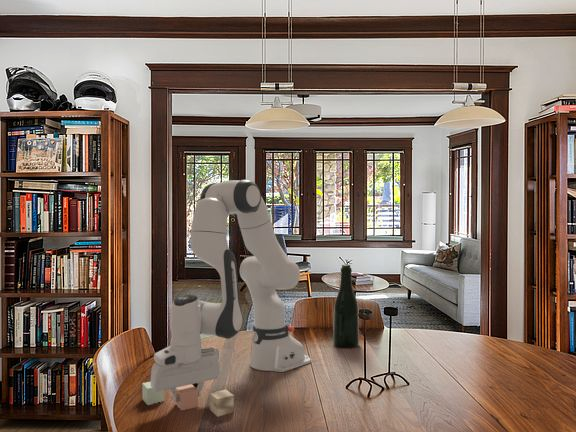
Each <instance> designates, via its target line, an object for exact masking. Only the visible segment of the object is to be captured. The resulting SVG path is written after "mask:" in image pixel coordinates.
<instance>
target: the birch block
mask: <svg viewBox="0 0 576 432" xmlns="http://www.w3.org/2000/svg"><path fill="white" fill-rule="evenodd" d="M234 399H235V398H234V394H232V393H231V392H230V391H229V390H227V389H221V390H217V391H213V392H210V393H209V410H210V411H211V413H213V414H214V415H215V416H216V417H222V416H226V415H229V414H233V413H235V412H234V411H235V408H234V407H235V406H234V405H235V403H234V401H235V400H234Z"/></svg>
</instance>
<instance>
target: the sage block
mask: <svg viewBox="0 0 576 432" xmlns="http://www.w3.org/2000/svg"><path fill="white" fill-rule="evenodd" d="M141 384H142V387H141V388H142V389H141V390H142V400H143V402H144V403H145V404H146V405H147V406H150V405H151V406H152V405H154V403H155V404H159V403H158V402H160V403H163V402H162V401H164V402H165V390H163V391H158V392H156V391H155V390H154V389H153V388H152V387H151V381H147V382H142V383H141Z"/></svg>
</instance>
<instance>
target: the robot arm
mask: <svg viewBox="0 0 576 432" xmlns="http://www.w3.org/2000/svg"><path fill="white" fill-rule="evenodd" d="M230 215H231V216H233V215H236V216H237V222H238V225H239V230H240V232H241V236H242V240H243V243H244V245H245V248H246V249H247V250H248V252H250V253H251V254H252V256H247V257H246V258H244V259H243V260H242V262H241V263H240V267H239V275H240V278H241V279H242V280H243V282H245V285H246V286H247V288H248V290H249V293H250V297H251V300H252V305H253V326H252V341H253V344H252V353H251V358H250V361H249V366H250V367H251V368H253V369H254V370H258V371H264V372H265V371H266V372H267V371H268V372H279V373H284V372H288V371H291V370H293V369H296V368H299V367H301V366H304V365H307V364H310V363H312V362H311V360H312V359H311V358H310V357H309V356H308V355H307V354H305V349H304V346H303V344H302V343H301V342H300V341H299V340H297V339H296V338H294V337H293V336H292V335H290V333H293V332H294V331H295V327H294V326H292V325H287V324H285V323H286V322H285V316H286V315H285V313H286V312H285V310H286V309H285V303H284V301H283V300H282V299H281V297H279V295H278V293H277V290H279V291H283V290H284V291H285V290H291V289H294V288H296V286H297V285H298V284H299V281H300V277H301V272H300V271H301V270H300V267H299V266H298V264H297V263H296V262H294V261H293V260H292V259H291V258H290V257H289V256H288V255H287V254H286V252H285V251H284V249H283V248H282V246H281V245H280V243H279V241H278V239H277V236H276V233H275V230H274V228H273V223H272V220H271V216H270V213H269V210H268V208H267V205H266V203H265V201H264V199H263V197H262V194H261V190H260V188H259V186H258V185H257V184H256V183H255V182H254V181H253V180H249V179H241V180H240V179H239V180H234V179H233V180H231V179H230V180H225V181H220V182H212V183H210V184H207V185H205V186H204V188H203V189H202V190H201V193H200V196H199V201H198V202H197V203H196V206H195V209H194V212H193V217H192V223H191V229H190V239H189V240H190V241H189V242H190V244H189V245H190V249H191V251H192V253H193V254H194V256H196V258H197V259H198V260H200V261H202V262H204V263H205V264H208V265H210V266H211V267H212V268H214V269H215V270H216V271H217V272H218V274H219V278H220V285H221V287H220V288H221V300H222V302H221V303H219V302H218V303H217V302H209V301H204V300H201V299H199V297H198V296H197V295H196V294H195V295H194V294H184V295H183V294H182V295H180V296H177V297H176V298H174V299H173V300H172V304H171V307H170V316H169V317H170V318H169V319H170V321H169V322H170V323H169V324H170V325H169V326H170V327H169V328H170V333H171V338H170V342H169V343H170V344H169V346H166V347H164V348H163V349H160V350H159V351H157V352H155V353H154V354H153V359H154V361H155V362H154V363H153V364H152V367H151V370H150V371H151V372H150V382H151V387H152V388H153V389H154V390H155V391H156V392H158V391H163V390H164V391H165V390H168V391H169V392H170V394H171V395H172V402H173V404H174V403H175V402H179V395H178V394H175V391H176V387H181V386H185V385H190V384H195V383H197V384H198V386H197V389H198V398H200V397H201V391H202V390H203V387H204V386H205V382H207V381H212V380H217V379H219V377H220V375H221V369H220V368H221V367H220V361H219V359H220V350H219V349H218V348H216V347H214V346H213V347H209V348H202V338H201V337H202V336H201V334H202V335H207V336H213V337H215V336H216V337H219V338H222V339H226V340H227V339H228V340H229V339H232V338H233V337H235V336H236V335H238V333H239V332H240V331H241V330H242V328H243V324H244V317H243V311H242V307H241V303H240V292H239V291H240V289H239V280H238V278H239V277H238V276H239V275H238V269H237V267H238V266H237V261H236V260H237V259H236V257H235V254H234V252H233V251H231V250H230V248H229V244H228V240H227V238H228V237H227V236H228V234H227V233H228V217H229V216H230ZM289 332H290V333H289ZM175 404H176V403H175Z"/></svg>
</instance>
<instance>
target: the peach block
mask: <svg viewBox="0 0 576 432" xmlns="http://www.w3.org/2000/svg"><path fill="white" fill-rule="evenodd" d="M174 393H175V394H178V395H179V402H175V406H176V405H177V406H176V407H177V408H179V410H180V411H182V410H183V411H186V409H187V410H190V409H194V408H198V407H199V397H198V389H197V388H195V387H194V386H193V385H192V384H190V385H185V386H181V387H176V391H174ZM183 411H182V412H183Z"/></svg>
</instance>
